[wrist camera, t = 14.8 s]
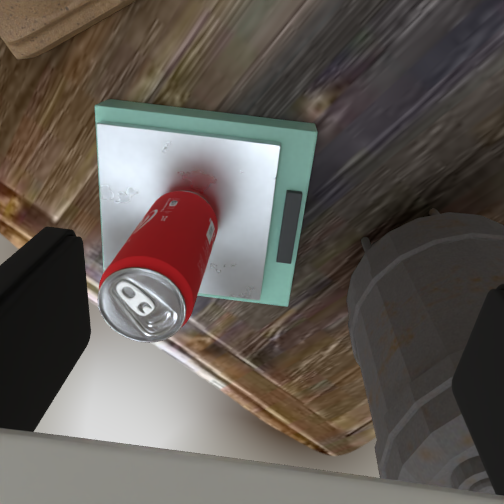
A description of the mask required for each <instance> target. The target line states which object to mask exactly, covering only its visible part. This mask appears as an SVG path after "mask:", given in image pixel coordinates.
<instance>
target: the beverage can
mask: <svg viewBox="0 0 504 504" xmlns="http://www.w3.org/2000/svg"><path fill="white" fill-rule="evenodd" d="M217 230H218V223H217V218H216V215H215V213H214V211H213V209H212V207H211V206H210V205H209V203H208V202H207V201H206V200H205V199H204V198H202V197H201V196H199V195H197V194H195V193H192V192H188V191H174V192H170V193H167V194H164V195H163V196H161V197H160V198H158V199H157V200H156V201H155V202H154V204H153V205H152V206H151V208H150V209H149V211H148V212H147V213H146V215H145V216H144V218H143V219H142V220H141V222H140V223H139V225H138V226H137V227H136V229H135V230H134V232H133V233H132V234H131V236H130V237H129V238H128V240H127V241H126V243H125V244H124V245H123V247H122V248H121V250H120V251H119V252H118V254H117V255H116V257H115V258H114V259H113V261H112V262H111V264H110V265H109V266H108V268H107V269H106V271H105V272H104V274H103V275H102V278H101V280H100V284H99V292H98V309H99V311H100V313H101V315H102V317H103V319H104V320H105V321H106V323H107V324H108V325H109V326H110V327H111V328H112V329H113V330H114V331H116V332H117V333H119V334H120V335H122V336H124V337H126V338H128V339H131V340H134V341H139V342H148V343H150V342H159V341H162V340H165V339H167V338H169V337H171V336H173V335H174V334H175V333H176V332H178V330H179V329H180V328H181V327H182V326H183V325H184V324H185V323H186V322H187V321H188V319H189V318H190V316H191V313H192V311H193V307H194V304H195V301H196V298H197V295H198V292H199V289H200V285H201V282H202V279H203V276H204V273H205V270H206V266H207V263H208V260H209V257H210V254H211V251H212V248H213V244H214V241H215V238H216V235H217Z"/></svg>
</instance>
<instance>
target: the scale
mask: <svg viewBox="0 0 504 504" xmlns="http://www.w3.org/2000/svg"><path fill="white" fill-rule="evenodd" d="M95 121H96V139H97V123H98V122H100V121H109V122H118V123H126V124H134V125H143V126H151V127H159V128H167V129H176V130H184V131H192V132H201V133H209V134H217V135H225V136H234V137H242V138H250V139H259V140H267V141H275V142H281V149H280V156H279V163H278V171H277V178H276V186H275V193H274V200H273V208H272V215H271V223H270V230H269V237H268V245H267V252H266V259H265V267H264V274H263V282H262V289H261V296H260V300H251V299H243V298H235V297H227V296H219V295H211V294H203V293H198V296H206V297H214V298H222V299H230V300H238V301H246V302H254V303H263V304H271V305H279V306H288V304H289V298H290V292H291V286H292V280H293V275H294V269H295V263H296V257H297V251H298V245H299V239H300V234H301V228H302V222H303V216H304V210H305V204H306V199H307V193H308V187H309V181H310V175H311V169H312V163H313V158H314V152H315V146H316V140H317V134H318V132H317V129H316V125H315V124H314V123H306V122H297V121H289V120H281V119H273V118H264V117H256V116H248V115H239V114H231V113H223V112H214V111H206V110H198V109H189V108H181V107H173V106H164V105H156V104H148V103H139V102H131V101H123V100H115V99H108V100H106V101H103V102H101V103H99V104H97V105H95ZM97 157H98V142H97ZM98 176H99V161H98ZM99 194H100V180H99ZM100 213H101V198H100ZM101 231H102V217H101ZM102 249H103V236H102ZM103 268H104V254H103Z"/></svg>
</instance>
